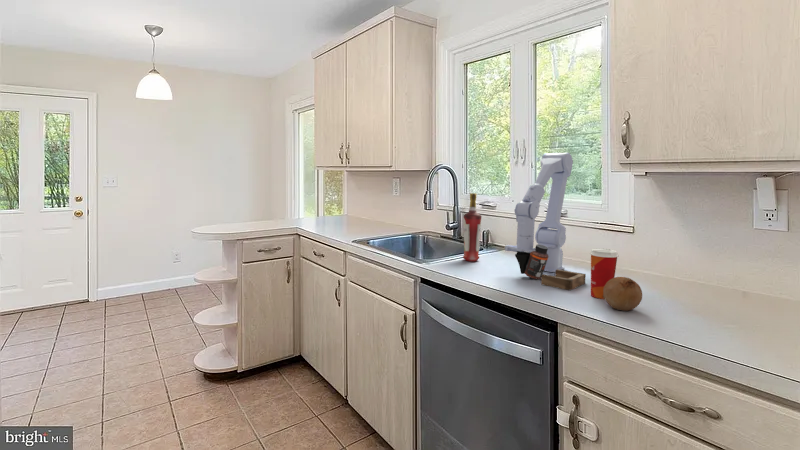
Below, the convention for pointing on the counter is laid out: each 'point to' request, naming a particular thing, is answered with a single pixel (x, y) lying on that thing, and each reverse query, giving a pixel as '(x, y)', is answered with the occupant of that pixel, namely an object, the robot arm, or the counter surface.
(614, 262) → the paper cup
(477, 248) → the liquor
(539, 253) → the supplement bottle
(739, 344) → the counter surface
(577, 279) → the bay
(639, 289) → the onion
